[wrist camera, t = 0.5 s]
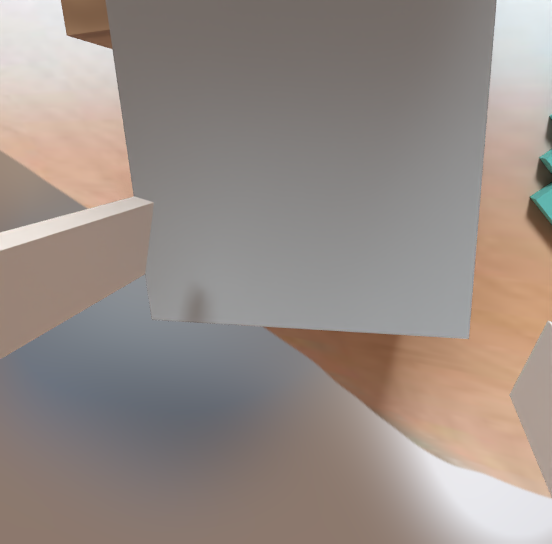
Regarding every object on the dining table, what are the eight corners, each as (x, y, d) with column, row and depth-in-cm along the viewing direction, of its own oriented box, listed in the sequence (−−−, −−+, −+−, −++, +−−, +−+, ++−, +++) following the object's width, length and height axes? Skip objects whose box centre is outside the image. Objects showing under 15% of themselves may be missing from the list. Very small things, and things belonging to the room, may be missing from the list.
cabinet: (237, -69, 36) (26, -337, 15) (448, -108, 32) (541, -548, 11) (257, 230, 43) (131, 318, 23) (431, 230, 39) (468, 338, 18)
